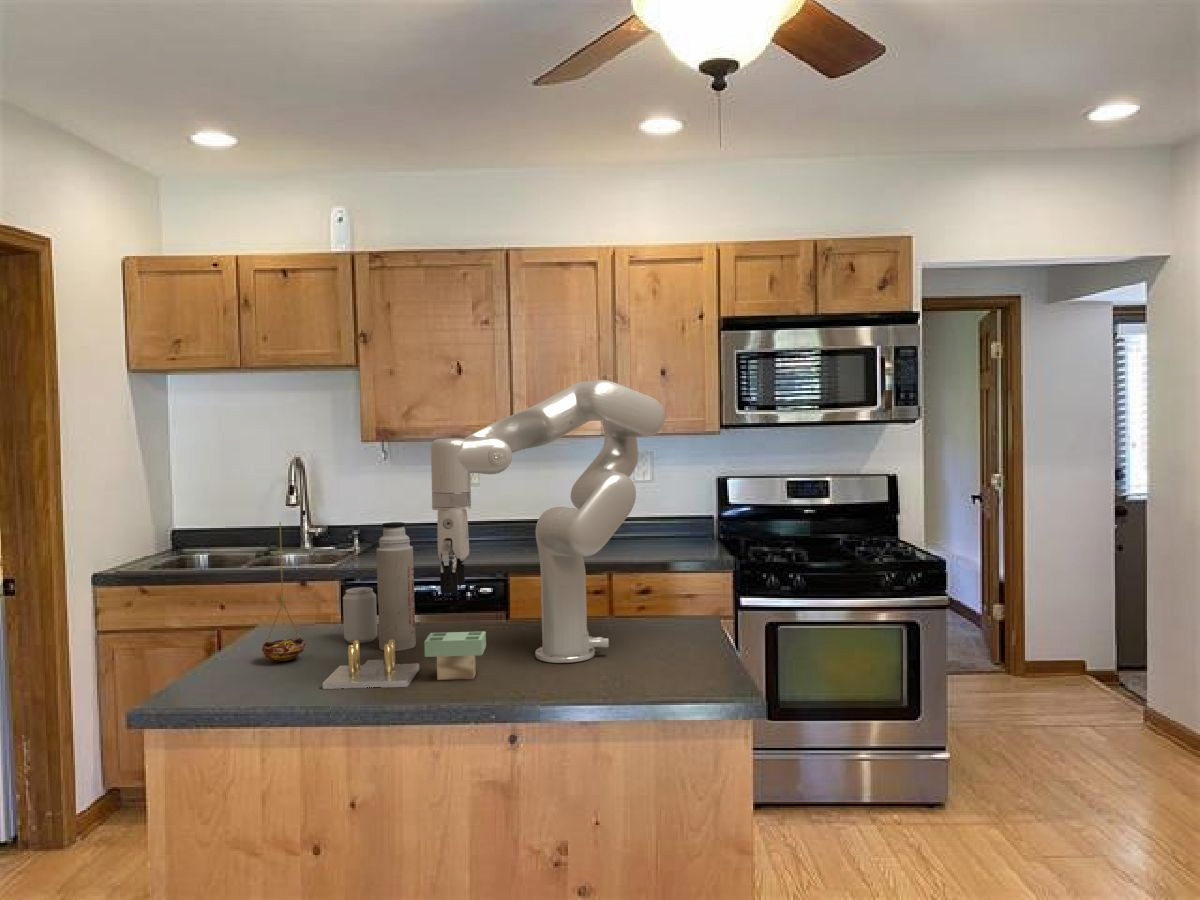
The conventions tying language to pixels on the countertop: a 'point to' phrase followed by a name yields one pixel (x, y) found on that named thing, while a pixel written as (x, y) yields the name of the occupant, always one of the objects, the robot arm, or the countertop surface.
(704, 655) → the countertop surface
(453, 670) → the block
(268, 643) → the bird feeder
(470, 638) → the board
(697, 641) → the countertop surface
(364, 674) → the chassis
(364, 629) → the can
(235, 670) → the countertop surface
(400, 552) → the thermos bottle
